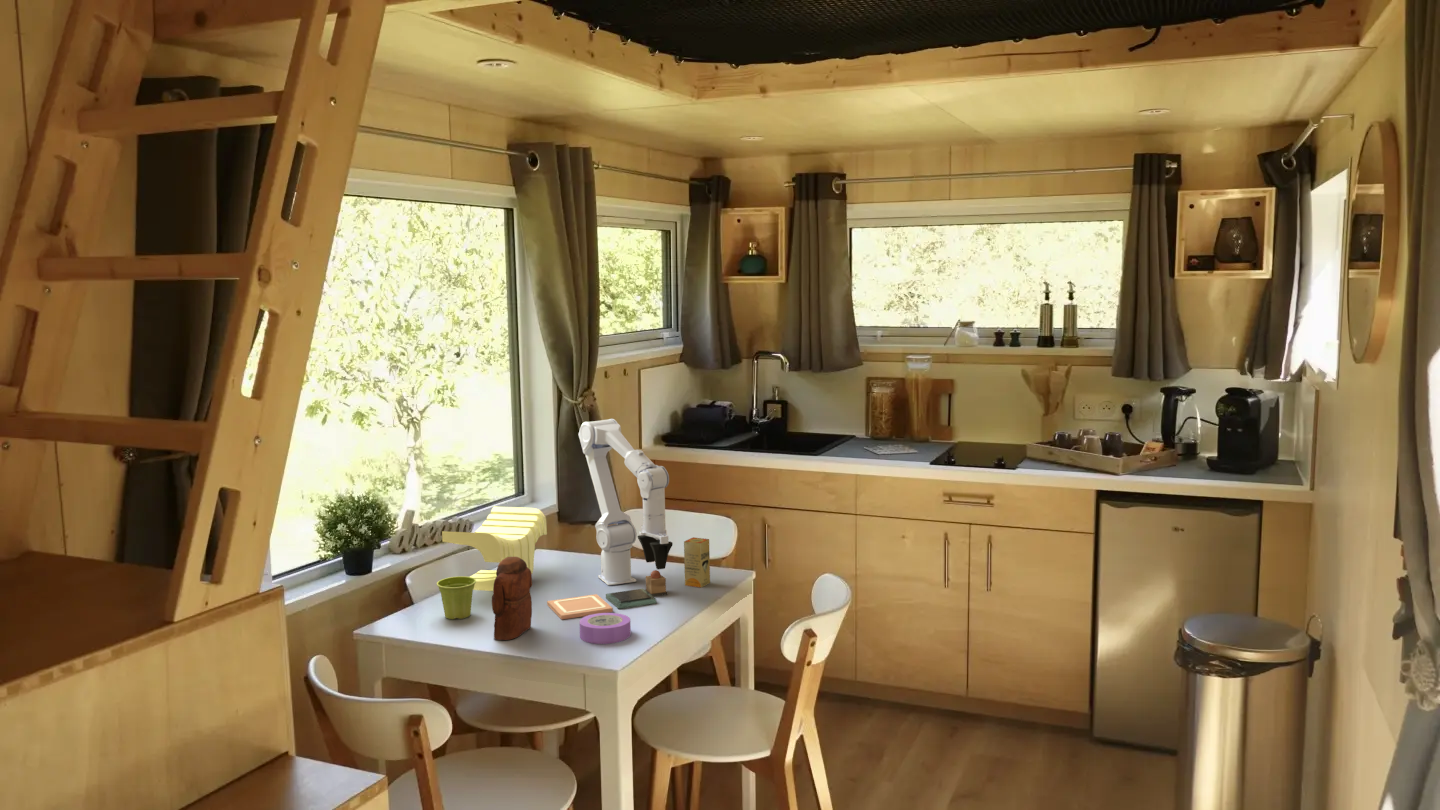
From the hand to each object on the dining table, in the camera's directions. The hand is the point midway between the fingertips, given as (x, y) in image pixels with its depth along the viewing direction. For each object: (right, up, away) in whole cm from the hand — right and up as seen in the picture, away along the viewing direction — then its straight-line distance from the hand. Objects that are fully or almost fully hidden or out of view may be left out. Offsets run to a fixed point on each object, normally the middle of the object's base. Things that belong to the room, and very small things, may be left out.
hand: (655, 565), depth 277 cm
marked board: (-18, -9, -10) cm, 23 cm away
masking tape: (-10, -12, -31) cm, 34 cm away
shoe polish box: (+11, -7, +9) cm, 15 cm away
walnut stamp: (0, -8, +1) cm, 8 cm away
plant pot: (-48, -10, -15) cm, 51 cm away
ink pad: (-6, -8, -5) cm, 11 cm away
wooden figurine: (-32, -12, -28) cm, 44 cm away
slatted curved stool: (-43, -7, +13) cm, 45 cm away
